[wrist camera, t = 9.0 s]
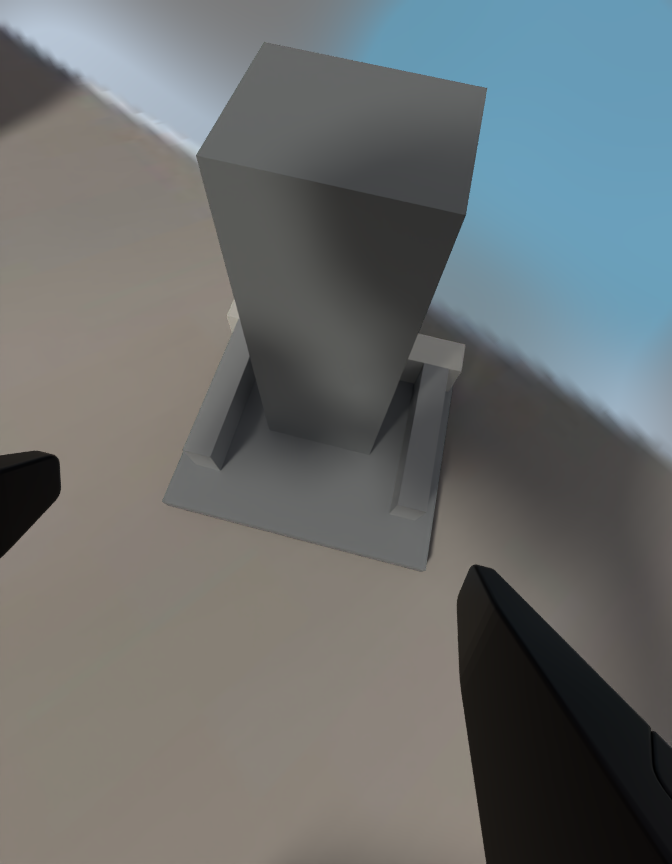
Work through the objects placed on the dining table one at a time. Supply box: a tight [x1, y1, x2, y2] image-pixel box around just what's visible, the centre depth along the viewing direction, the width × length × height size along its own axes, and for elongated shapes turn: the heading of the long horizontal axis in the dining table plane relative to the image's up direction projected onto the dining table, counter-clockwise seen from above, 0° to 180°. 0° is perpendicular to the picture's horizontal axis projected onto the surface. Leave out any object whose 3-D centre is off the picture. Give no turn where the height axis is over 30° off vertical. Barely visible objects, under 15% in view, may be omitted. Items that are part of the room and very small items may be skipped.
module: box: [196, 42, 487, 455], centre depth 14 cm, size 4×5×13 cm
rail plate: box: [162, 299, 465, 572], centre depth 19 cm, size 11×12×3 cm
